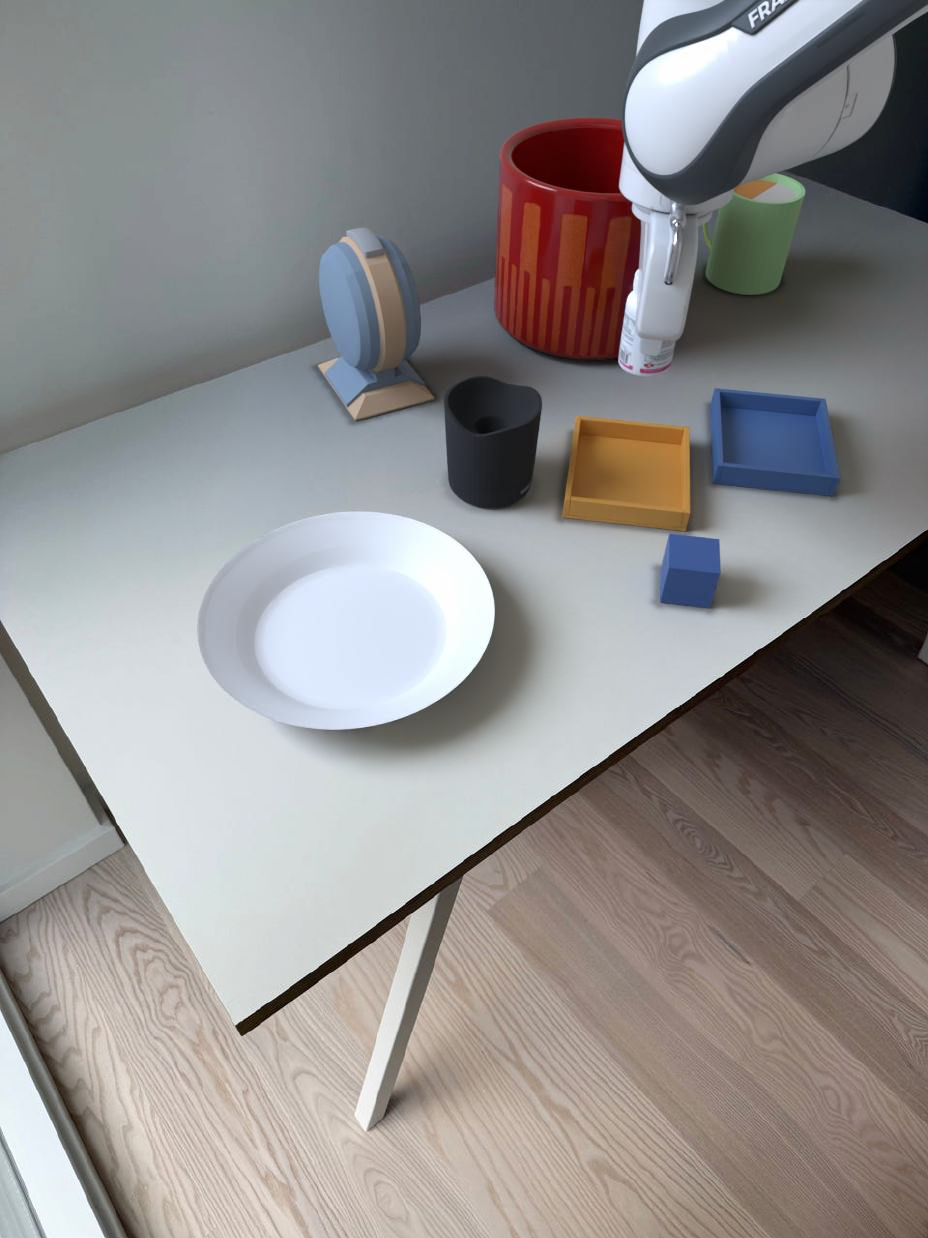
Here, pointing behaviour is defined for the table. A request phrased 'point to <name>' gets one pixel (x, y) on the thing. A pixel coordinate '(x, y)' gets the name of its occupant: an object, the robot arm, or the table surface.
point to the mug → (754, 235)
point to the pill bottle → (630, 344)
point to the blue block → (690, 570)
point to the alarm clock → (371, 324)
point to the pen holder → (491, 440)
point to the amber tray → (629, 473)
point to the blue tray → (772, 442)
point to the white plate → (345, 620)
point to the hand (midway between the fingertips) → (650, 332)
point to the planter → (565, 238)
